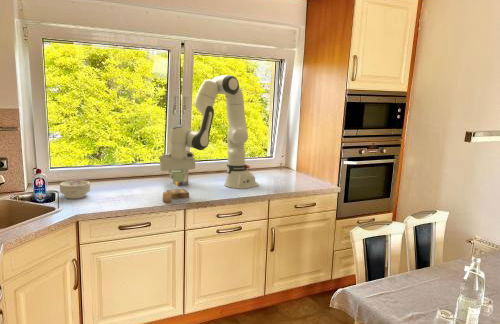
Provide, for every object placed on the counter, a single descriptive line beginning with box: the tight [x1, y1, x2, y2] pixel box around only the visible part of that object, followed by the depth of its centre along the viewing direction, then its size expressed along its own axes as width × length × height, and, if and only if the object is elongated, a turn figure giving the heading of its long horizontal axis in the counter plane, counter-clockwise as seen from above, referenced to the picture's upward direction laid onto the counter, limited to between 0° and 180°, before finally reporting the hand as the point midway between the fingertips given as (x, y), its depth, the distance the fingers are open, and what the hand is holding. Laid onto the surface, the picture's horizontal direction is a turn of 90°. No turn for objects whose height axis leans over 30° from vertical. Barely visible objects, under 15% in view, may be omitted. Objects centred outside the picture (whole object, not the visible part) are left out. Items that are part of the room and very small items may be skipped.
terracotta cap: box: [162, 191, 172, 204], centre depth 207 cm, size 4×4×5 cm
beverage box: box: [172, 149, 189, 187], centre depth 245 cm, size 7×11×22 cm, turn 27°
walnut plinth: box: [166, 188, 190, 200], centre depth 220 cm, size 10×10×2 cm
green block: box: [171, 170, 184, 183], centre depth 218 cm, size 6×6×5 cm
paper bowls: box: [59, 179, 91, 200], centre depth 209 cm, size 15×15×8 cm
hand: (177, 177), depth 218 cm, fingers closed on green block, 5 cm apart
